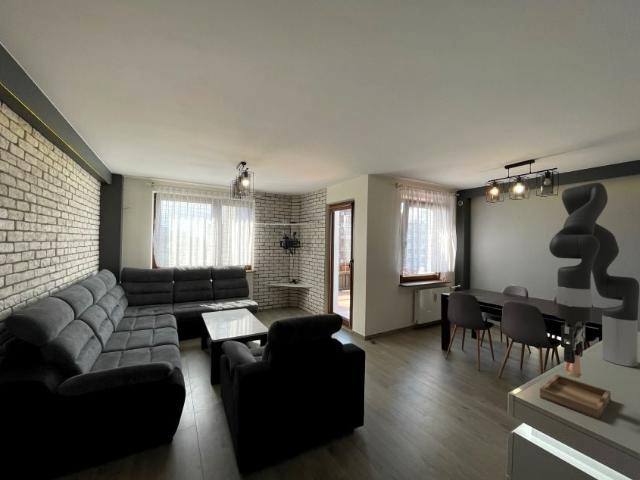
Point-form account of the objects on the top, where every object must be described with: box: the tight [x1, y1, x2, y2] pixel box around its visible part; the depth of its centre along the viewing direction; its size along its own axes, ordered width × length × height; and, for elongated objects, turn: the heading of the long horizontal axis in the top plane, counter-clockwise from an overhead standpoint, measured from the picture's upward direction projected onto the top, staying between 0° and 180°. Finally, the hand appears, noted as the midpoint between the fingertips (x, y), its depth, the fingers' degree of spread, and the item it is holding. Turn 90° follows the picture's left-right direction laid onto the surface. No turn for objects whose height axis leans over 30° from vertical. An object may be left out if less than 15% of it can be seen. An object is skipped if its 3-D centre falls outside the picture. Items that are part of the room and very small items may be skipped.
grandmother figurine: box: [564, 335, 583, 379], centre depth 77 cm, size 8×4×13 cm, turn 134°
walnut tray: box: [539, 374, 612, 421], centre depth 78 cm, size 16×12×2 cm
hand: (573, 359), depth 77 cm, fingers closed on grandmother figurine, 8 cm apart
